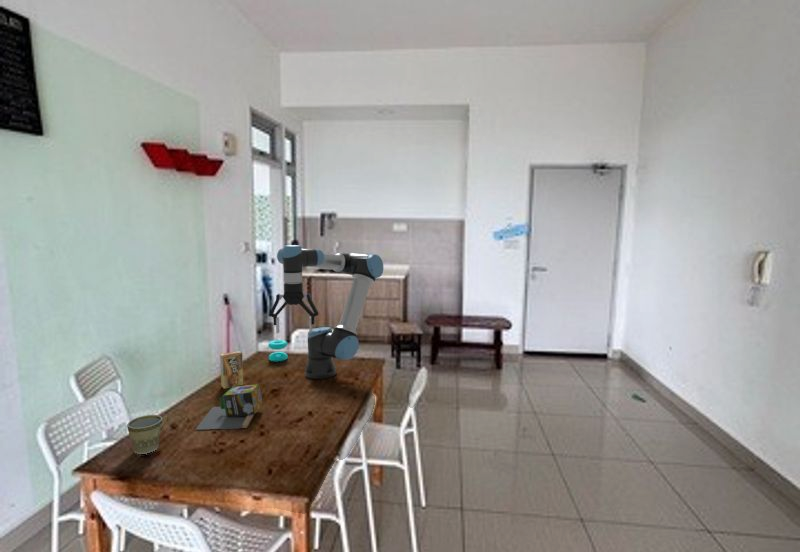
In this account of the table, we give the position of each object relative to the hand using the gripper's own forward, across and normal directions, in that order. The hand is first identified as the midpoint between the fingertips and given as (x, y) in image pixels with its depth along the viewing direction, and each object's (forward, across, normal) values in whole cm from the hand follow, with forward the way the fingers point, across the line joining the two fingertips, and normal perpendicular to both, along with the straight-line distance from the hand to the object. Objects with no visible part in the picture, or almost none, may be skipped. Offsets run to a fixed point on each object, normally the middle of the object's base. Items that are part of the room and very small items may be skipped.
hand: (294, 332), depth 190 cm
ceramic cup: (+29, +42, +40) cm, 65 cm away
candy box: (+29, +31, -17) cm, 46 cm away
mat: (+29, +23, +18) cm, 41 cm away
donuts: (+29, +17, -56) cm, 65 cm away
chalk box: (+22, +12, +16) cm, 30 cm away
